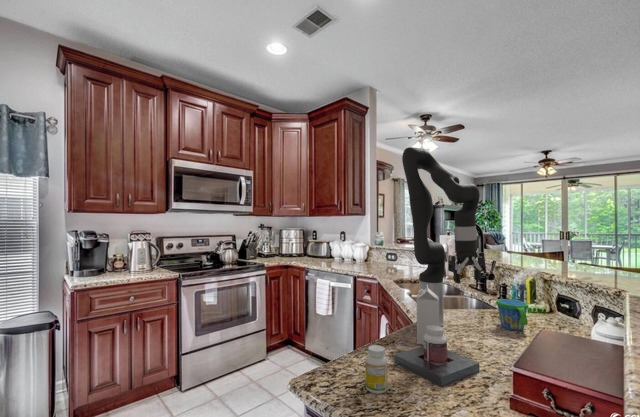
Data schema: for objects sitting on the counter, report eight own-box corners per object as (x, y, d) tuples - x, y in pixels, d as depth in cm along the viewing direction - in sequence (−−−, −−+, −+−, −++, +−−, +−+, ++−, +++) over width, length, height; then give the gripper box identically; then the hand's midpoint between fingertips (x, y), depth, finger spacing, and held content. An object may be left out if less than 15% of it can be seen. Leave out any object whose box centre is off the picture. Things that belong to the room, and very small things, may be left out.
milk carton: (438, 340, 109) (438, 285, 110) (439, 347, 102) (438, 288, 103) (417, 337, 111) (417, 283, 112) (416, 344, 104) (416, 287, 106)
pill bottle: (452, 369, 86) (451, 328, 87) (438, 374, 83) (437, 332, 84) (433, 361, 92) (432, 323, 92) (419, 366, 88) (418, 326, 89)
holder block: (394, 363, 90) (394, 354, 90) (430, 351, 98) (430, 343, 99) (441, 387, 76) (441, 377, 77) (479, 372, 85) (479, 362, 85)
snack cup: (538, 336, 114) (537, 307, 114) (507, 334, 115) (506, 306, 116) (517, 323, 129) (516, 298, 130) (490, 321, 131) (489, 297, 131)
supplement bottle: (380, 396, 72) (380, 354, 73) (361, 389, 76) (361, 348, 76) (391, 387, 76) (391, 347, 77) (372, 380, 80) (372, 342, 80)
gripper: (474, 235, 120) (476, 276, 120) (442, 238, 116) (444, 281, 117) (489, 237, 112) (491, 281, 113) (455, 241, 109) (457, 286, 110)
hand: (467, 281), depth 115 cm, fingers open, 8 cm apart
